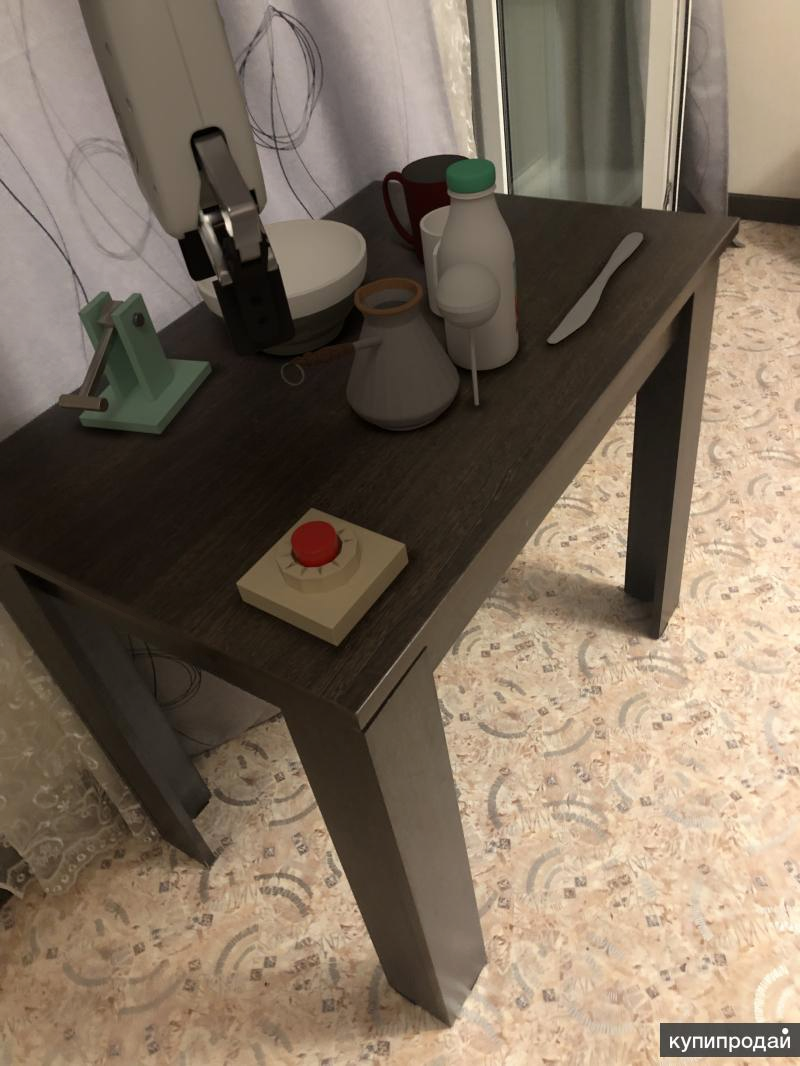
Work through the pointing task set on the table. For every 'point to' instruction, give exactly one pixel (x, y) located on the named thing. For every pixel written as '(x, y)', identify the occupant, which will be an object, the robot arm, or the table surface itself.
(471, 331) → the lollipop
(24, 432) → the table surface
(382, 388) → the coffee pot
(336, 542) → the button
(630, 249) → the butter knife
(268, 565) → the block
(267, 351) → the bowl
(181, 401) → the green lever stand
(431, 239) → the cup
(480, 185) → the milk bottle
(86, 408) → the lever handle
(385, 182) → the mug
